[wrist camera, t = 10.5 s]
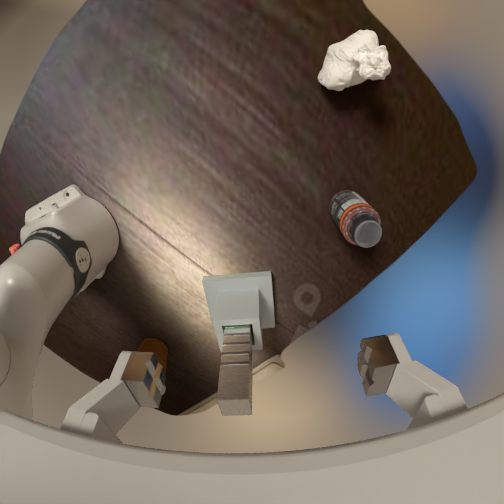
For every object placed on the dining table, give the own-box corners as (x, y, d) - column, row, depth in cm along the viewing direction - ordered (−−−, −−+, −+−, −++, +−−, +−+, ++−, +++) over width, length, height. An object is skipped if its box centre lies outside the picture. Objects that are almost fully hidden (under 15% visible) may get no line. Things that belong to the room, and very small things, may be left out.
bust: (320, 92, 40) (374, 124, 34) (293, 65, 35) (351, 94, 29) (362, 42, 36) (420, 66, 30) (341, 11, 30) (405, 30, 24)
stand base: (214, 326, 59) (209, 363, 50) (203, 276, 53) (194, 311, 44) (274, 322, 58) (277, 359, 49) (270, 271, 53) (274, 306, 44)
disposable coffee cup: (175, 364, 65) (165, 405, 54) (136, 356, 64) (122, 395, 54) (175, 336, 61) (163, 380, 50) (133, 328, 60) (115, 369, 49)
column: (229, 336, 50) (222, 415, 36) (225, 319, 48) (216, 399, 34) (252, 335, 50) (251, 414, 36) (250, 317, 48) (248, 399, 34)
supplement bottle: (362, 220, 48) (388, 251, 38) (329, 225, 49) (347, 259, 39) (361, 186, 45) (389, 211, 35) (326, 191, 46) (346, 217, 36)
